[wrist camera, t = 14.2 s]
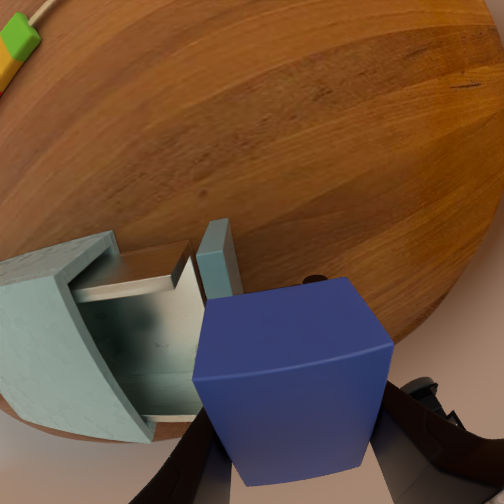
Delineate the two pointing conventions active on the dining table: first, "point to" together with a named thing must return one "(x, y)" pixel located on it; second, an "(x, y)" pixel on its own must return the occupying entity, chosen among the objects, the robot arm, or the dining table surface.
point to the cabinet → (59, 347)
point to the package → (292, 379)
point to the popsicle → (18, 43)
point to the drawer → (158, 316)
